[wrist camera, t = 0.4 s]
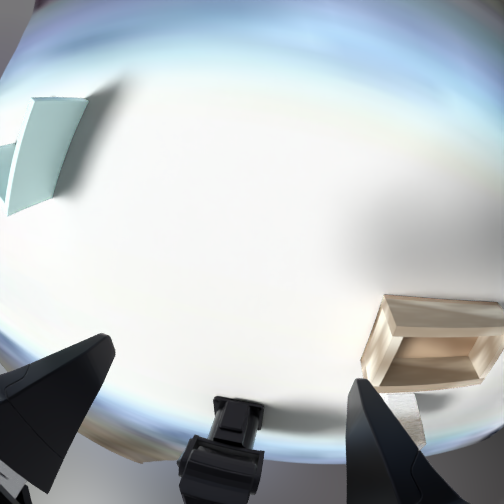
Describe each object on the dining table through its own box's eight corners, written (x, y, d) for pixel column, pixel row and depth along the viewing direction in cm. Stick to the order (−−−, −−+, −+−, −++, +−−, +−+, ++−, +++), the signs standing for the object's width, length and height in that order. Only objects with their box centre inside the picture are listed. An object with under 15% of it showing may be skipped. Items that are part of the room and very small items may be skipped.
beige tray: (468, 358, 22) (480, 383, 18) (360, 359, 25) (365, 392, 21) (497, 302, 19) (516, 326, 15) (383, 294, 21) (396, 326, 17)
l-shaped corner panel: (92, 101, 20) (34, 101, 13) (55, 196, 25) (7, 216, 18) (44, 67, 18) (-3, 65, 12) (15, 149, 23) (-27, 160, 17)
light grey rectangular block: (401, 410, 27) (410, 459, 20) (375, 411, 28) (381, 462, 21) (414, 392, 26) (426, 444, 18) (387, 394, 26) (395, 448, 19)
